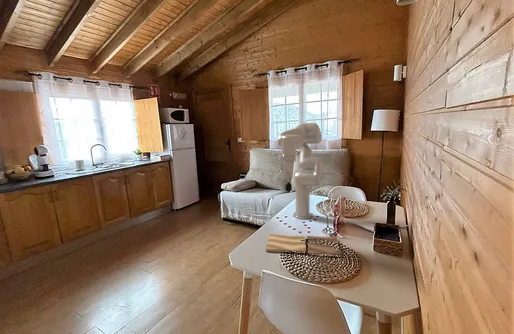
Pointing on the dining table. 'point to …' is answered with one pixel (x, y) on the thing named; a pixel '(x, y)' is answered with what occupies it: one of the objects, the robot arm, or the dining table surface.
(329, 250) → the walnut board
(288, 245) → the oak plank
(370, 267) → the dining table surface
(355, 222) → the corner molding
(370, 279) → the dining table surface
